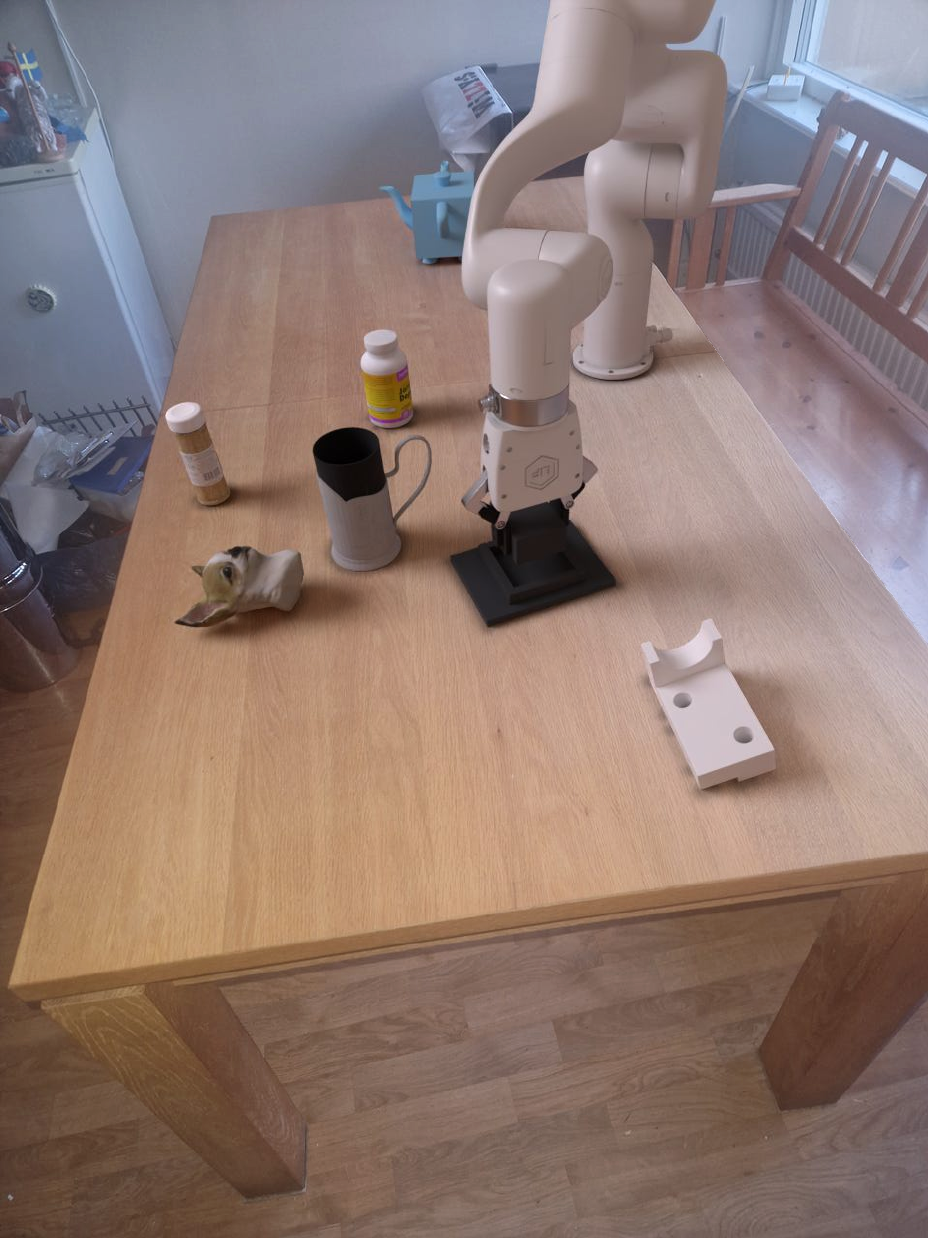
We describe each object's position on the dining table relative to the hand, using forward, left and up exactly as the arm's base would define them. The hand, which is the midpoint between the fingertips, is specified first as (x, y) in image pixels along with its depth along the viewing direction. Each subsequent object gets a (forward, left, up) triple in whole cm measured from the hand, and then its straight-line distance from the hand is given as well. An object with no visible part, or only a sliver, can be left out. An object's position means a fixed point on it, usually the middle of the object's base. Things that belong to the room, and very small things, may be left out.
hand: (530, 538), depth 90 cm
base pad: (0, 0, -5) cm, 5 cm away
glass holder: (+14, -13, -6) cm, 20 cm away
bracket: (-6, +27, -6) cm, 28 cm away
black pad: (0, 0, -1) cm, 1 cm away
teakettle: (-24, -95, -6) cm, 98 cm away
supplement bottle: (+5, -40, -6) cm, 41 cm away
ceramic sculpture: (+32, -9, -6) cm, 34 cm away
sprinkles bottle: (+33, -32, -6) cm, 46 cm away
